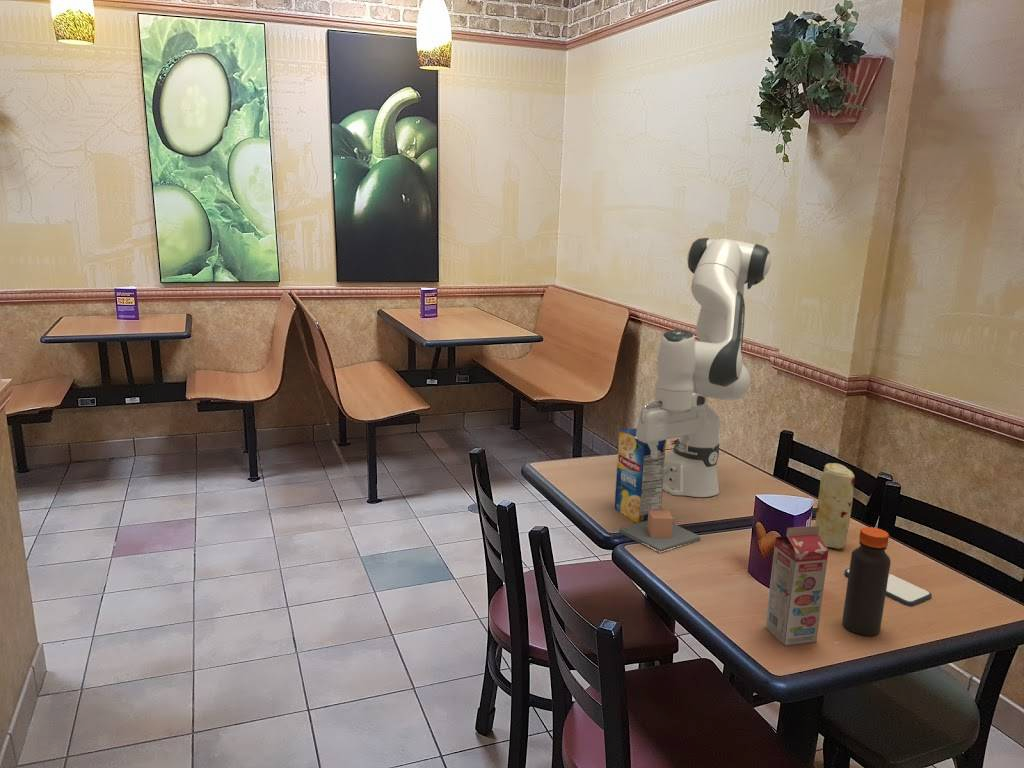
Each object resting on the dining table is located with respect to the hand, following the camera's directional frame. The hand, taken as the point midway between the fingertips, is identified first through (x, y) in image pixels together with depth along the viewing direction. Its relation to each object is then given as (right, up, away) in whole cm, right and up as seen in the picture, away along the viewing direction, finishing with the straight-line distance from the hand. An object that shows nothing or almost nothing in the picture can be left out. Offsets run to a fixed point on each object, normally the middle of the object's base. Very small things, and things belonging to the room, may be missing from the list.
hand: (669, 454), depth 180 cm
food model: (+40, -22, +3) cm, 46 cm away
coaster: (-2, -21, +4) cm, 21 cm away
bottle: (+30, -31, -34) cm, 55 cm away
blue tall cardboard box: (-5, -18, +18) cm, 25 cm away
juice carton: (+15, -31, -37) cm, 51 cm away
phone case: (+44, -28, -17) cm, 55 cm away
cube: (-2, -20, +4) cm, 20 cm away
